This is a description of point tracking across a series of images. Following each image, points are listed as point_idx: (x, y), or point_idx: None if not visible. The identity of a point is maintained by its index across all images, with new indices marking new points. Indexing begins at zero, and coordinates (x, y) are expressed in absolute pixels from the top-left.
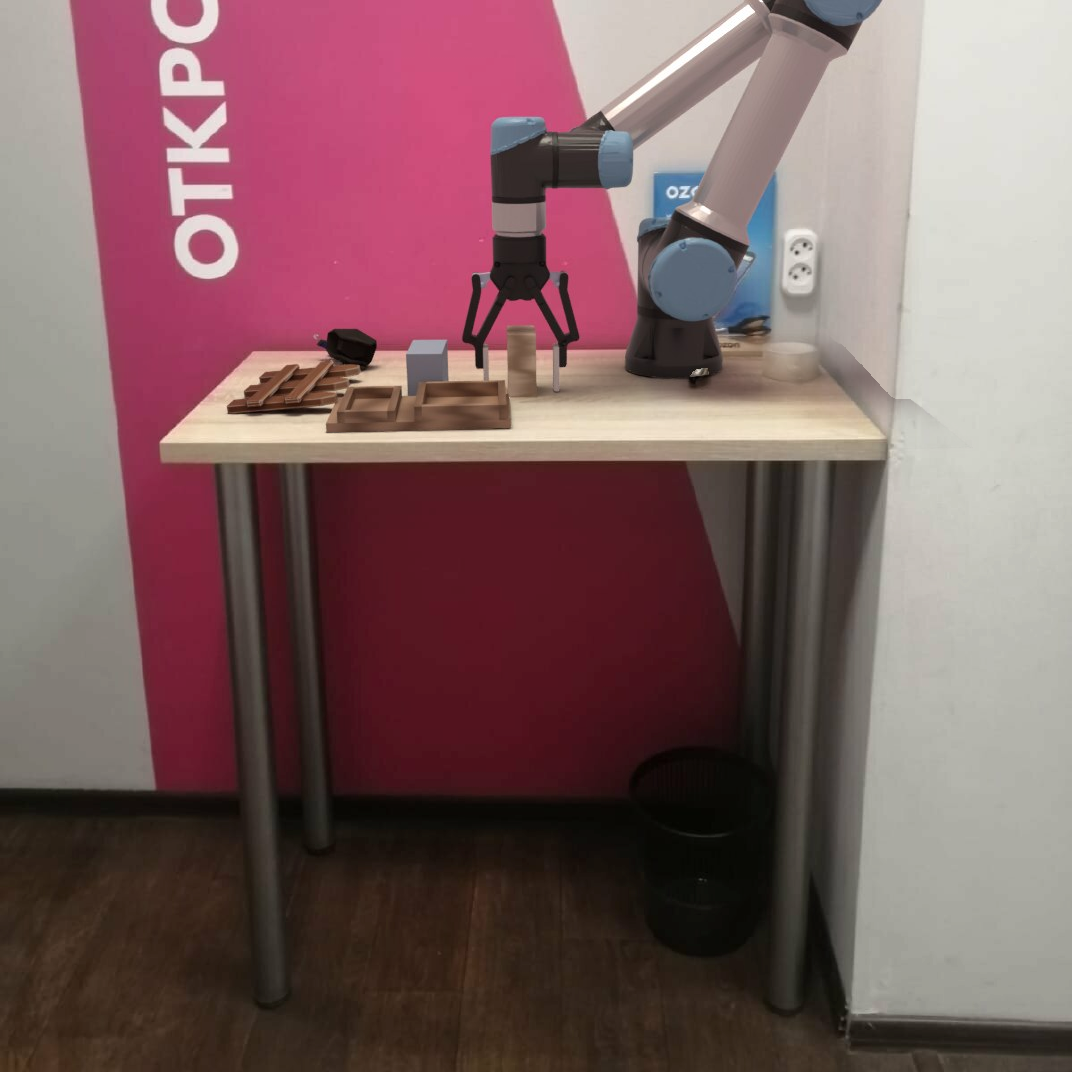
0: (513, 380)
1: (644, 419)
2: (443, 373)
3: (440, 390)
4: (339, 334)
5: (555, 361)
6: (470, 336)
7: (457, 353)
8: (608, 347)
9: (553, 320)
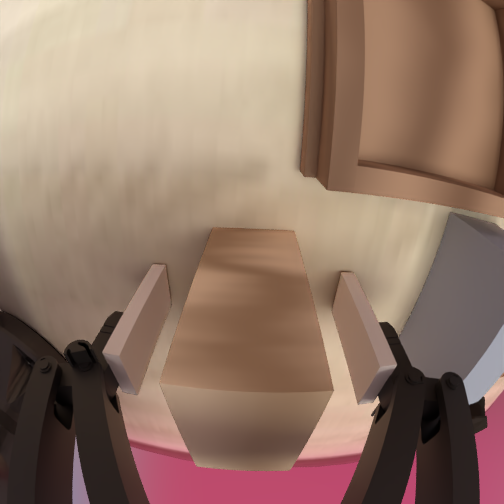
0: (283, 253)
1: (13, 36)
2: (475, 273)
3: (484, 189)
4: (486, 420)
5: (132, 318)
6: (445, 392)
7: (319, 453)
8: (137, 445)
9: (85, 445)
